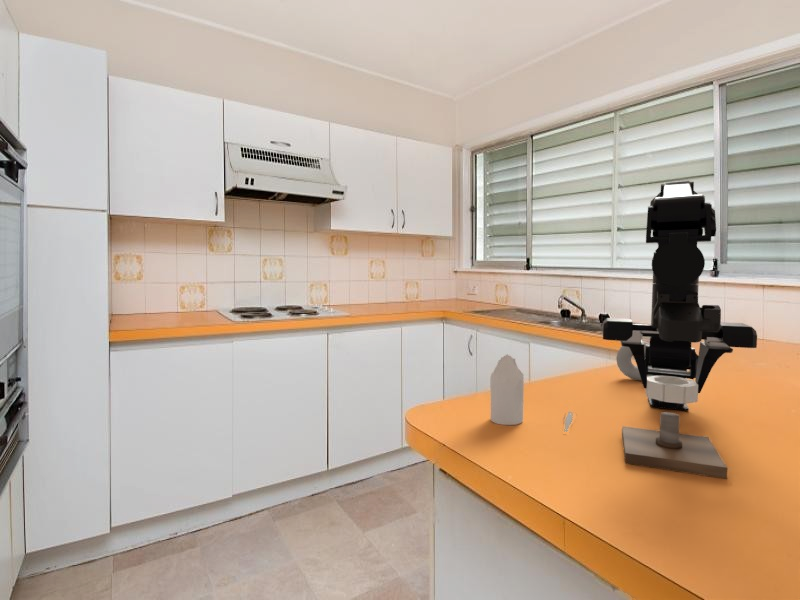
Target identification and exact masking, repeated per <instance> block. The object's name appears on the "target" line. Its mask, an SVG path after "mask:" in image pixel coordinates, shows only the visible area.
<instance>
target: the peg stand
mask: <svg viewBox="0 0 800 600" xmlns="http://www.w3.org/2000/svg"><path fill="white" fill-rule="evenodd" d="M621 438H622V439H621V440H622V447H623V448H624V449H623V448H622V449H623V455H624V457H625V458H624V463H625V464H627V463H628V465H634V466H639V467H641V466H642V467H648V468H655V469H659V470H660V469H661V470H666V471H667V470H668V471H672V470H673V472H680V473H686V474H687V473H688V474H691V475H692V474H693V475H698V474H699V476H706V477H711V476H712V477H713V478H719V479H725V480H727V479H728V466H727V464H726V463H725V461H724V460H723V458H722V457H721V454H720V453H719V452H718V450H717V449H716V447H715V445H714V443H713V442H712V441H711V439H710V438H709V436H703V435H695V434H688V433H681V432H680V415H679V414H677V413H674V412H667V411H666V412H660V419H659V430H657V429H655V430H654V429H647V428H641V427H640V428H639V427H632V426H623V425H622V427H621ZM712 477H711V478H712Z"/></svg>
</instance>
